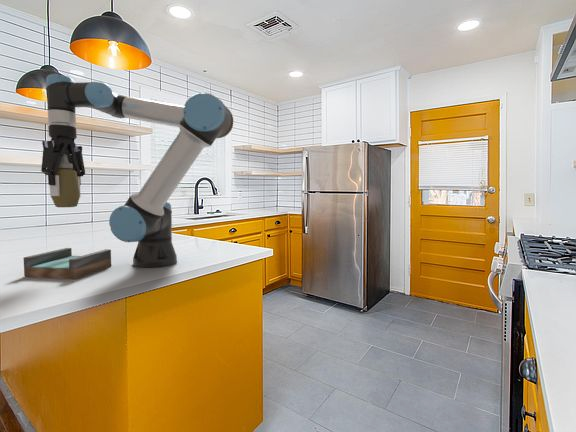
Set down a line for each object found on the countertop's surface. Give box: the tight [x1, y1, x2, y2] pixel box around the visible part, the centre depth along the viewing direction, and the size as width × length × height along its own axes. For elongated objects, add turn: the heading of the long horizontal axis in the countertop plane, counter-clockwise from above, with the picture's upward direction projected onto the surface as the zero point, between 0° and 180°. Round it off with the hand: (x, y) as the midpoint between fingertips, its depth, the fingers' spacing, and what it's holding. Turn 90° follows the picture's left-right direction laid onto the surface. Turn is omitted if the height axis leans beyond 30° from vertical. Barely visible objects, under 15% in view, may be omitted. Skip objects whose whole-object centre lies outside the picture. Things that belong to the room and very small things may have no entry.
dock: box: [23, 247, 112, 280], centre depth 108 cm, size 17×17×6 cm
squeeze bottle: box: [50, 154, 81, 208], centre depth 108 cm, size 8×8×18 cm
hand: (66, 195), depth 108 cm, fingers closed on squeeze bottle, 8 cm apart
